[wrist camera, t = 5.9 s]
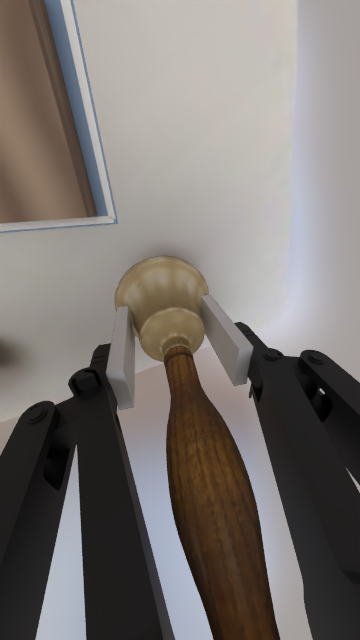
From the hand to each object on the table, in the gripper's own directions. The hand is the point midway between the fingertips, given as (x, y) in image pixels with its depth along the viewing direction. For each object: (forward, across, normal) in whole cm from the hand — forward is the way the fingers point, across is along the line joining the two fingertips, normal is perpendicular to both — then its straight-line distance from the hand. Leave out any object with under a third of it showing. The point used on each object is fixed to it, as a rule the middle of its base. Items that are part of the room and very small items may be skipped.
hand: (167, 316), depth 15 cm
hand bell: (+3, 0, 0) cm, 3 cm away
